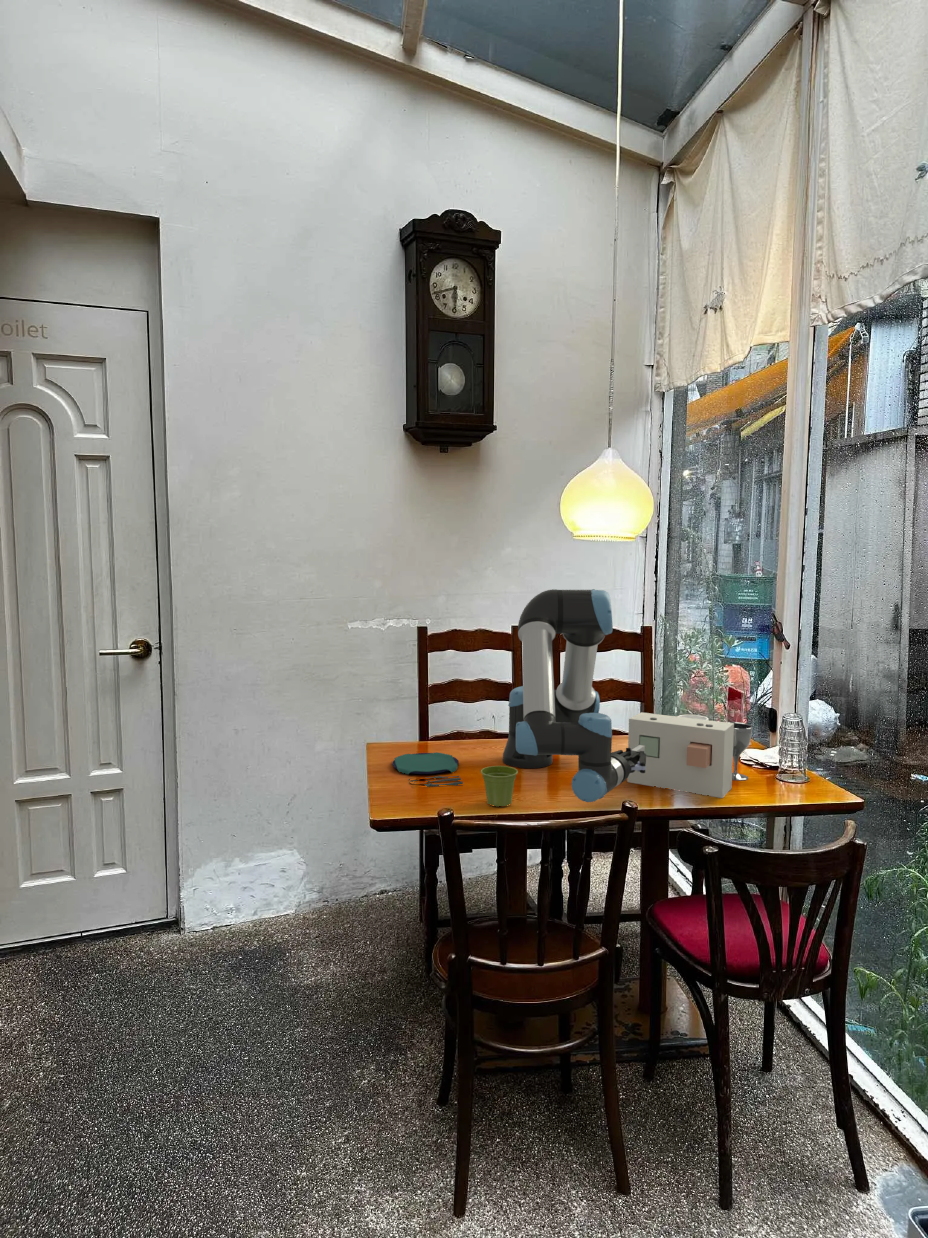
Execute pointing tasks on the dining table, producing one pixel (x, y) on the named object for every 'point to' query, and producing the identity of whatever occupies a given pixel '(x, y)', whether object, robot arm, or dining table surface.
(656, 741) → the sage button
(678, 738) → the console
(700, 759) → the terracotta button
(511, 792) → the plant pot
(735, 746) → the wine glass
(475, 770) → the dining table surface
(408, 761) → the cutlery set
